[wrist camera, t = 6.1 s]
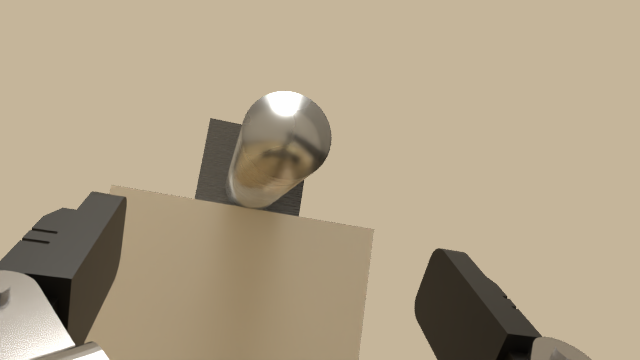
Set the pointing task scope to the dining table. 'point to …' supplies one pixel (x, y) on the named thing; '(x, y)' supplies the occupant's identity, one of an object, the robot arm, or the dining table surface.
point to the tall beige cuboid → (232, 284)
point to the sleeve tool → (265, 154)
